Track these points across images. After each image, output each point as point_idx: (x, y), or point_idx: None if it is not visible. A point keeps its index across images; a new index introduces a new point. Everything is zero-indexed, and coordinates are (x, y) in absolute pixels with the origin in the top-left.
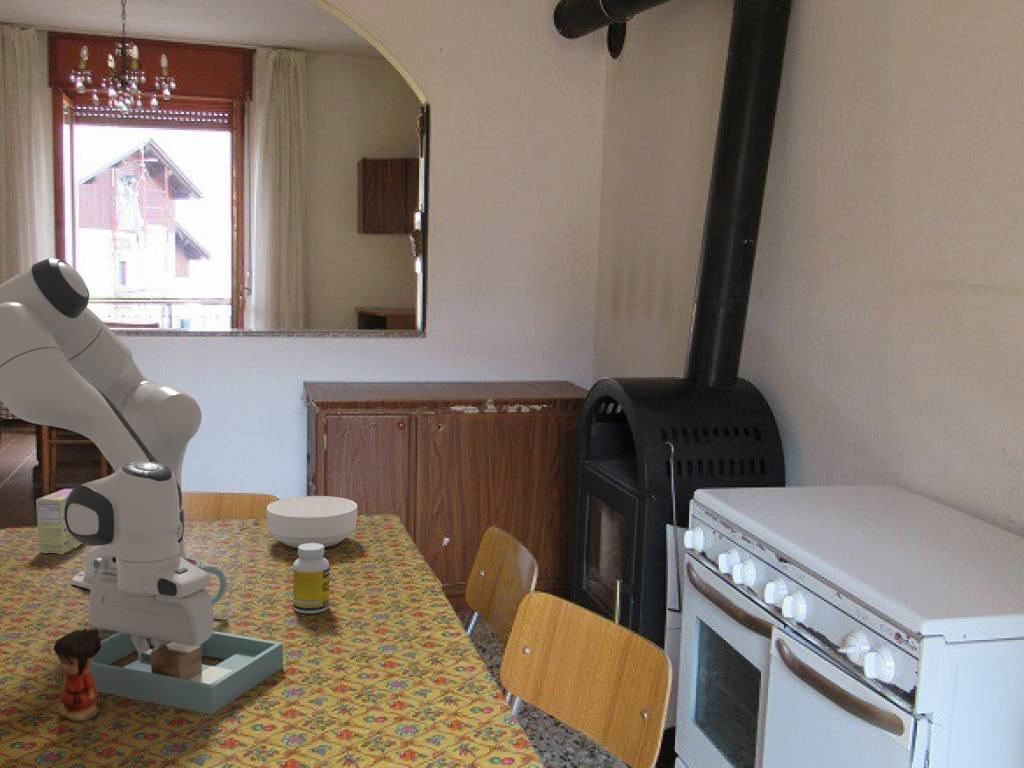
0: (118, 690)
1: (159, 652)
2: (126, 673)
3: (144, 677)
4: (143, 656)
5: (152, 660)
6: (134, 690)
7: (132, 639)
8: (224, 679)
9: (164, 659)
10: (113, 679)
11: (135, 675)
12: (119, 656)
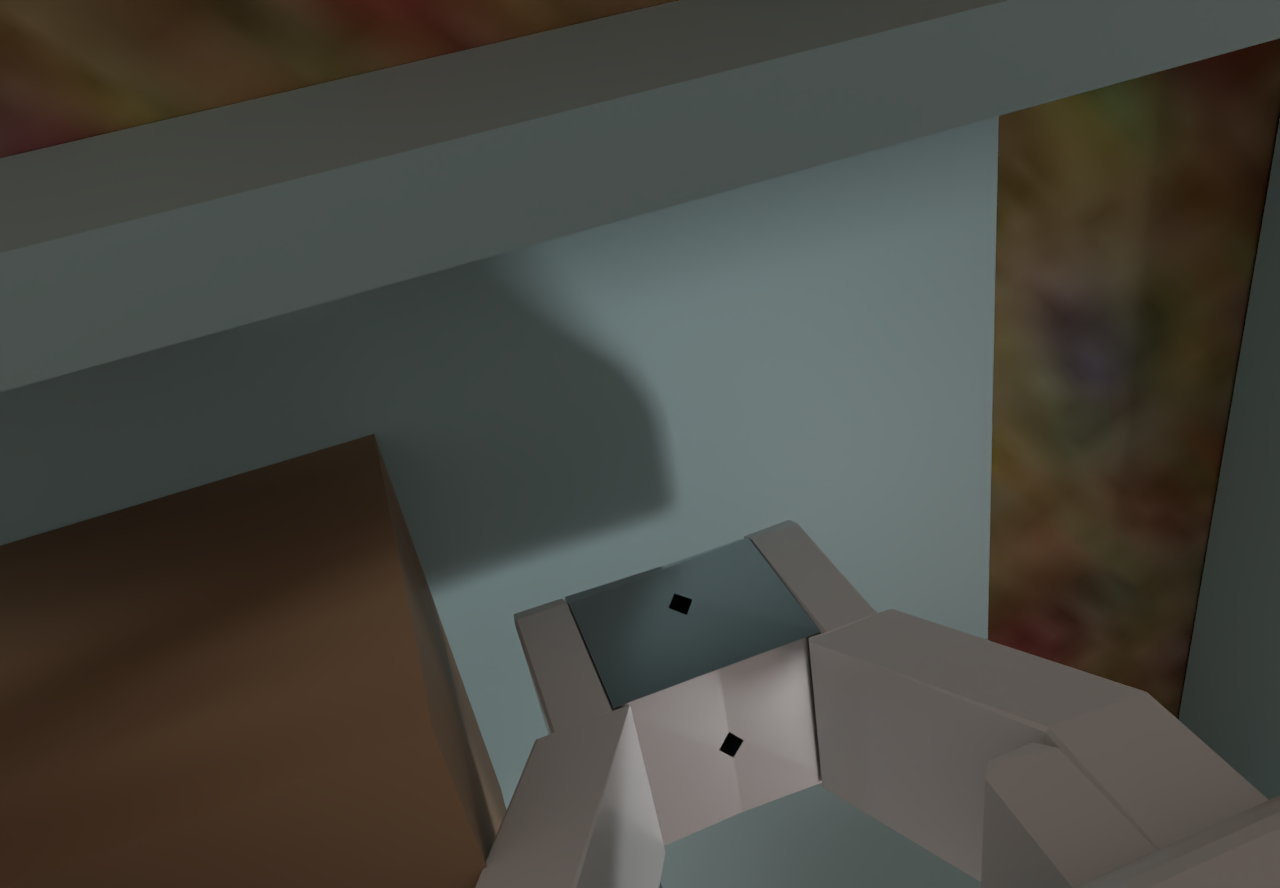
0: (641, 19)
1: (301, 861)
2: (562, 95)
3: (92, 216)
4: (750, 615)
5: (376, 629)
6: (354, 98)
7: (1147, 722)
8: None
9: (26, 801)
10: (792, 10)
11: (335, 154)
12: (1228, 563)
